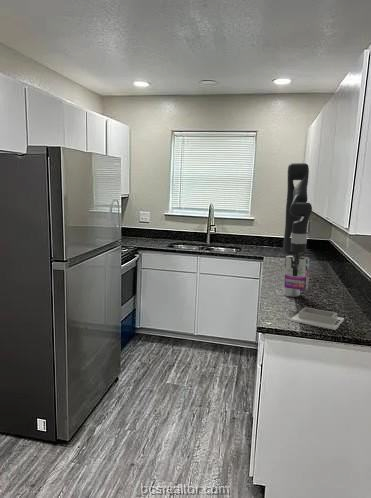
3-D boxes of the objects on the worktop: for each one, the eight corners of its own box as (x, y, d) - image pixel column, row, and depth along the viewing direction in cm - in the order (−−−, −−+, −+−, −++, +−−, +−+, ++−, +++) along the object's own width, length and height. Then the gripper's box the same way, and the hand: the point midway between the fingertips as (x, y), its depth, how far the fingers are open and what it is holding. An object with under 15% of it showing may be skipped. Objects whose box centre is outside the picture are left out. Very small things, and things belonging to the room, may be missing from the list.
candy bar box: (308, 288, 191) (310, 257, 188) (305, 290, 187) (307, 258, 184) (286, 285, 197) (288, 254, 194) (283, 287, 193) (285, 256, 190)
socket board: (301, 312, 186) (302, 304, 186) (344, 320, 175) (344, 311, 175) (290, 320, 173) (291, 312, 173) (336, 330, 162) (336, 321, 162)
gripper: (296, 239, 196) (294, 271, 199) (286, 243, 184) (284, 276, 187) (310, 241, 192) (308, 273, 195) (301, 244, 180) (299, 278, 183)
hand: (296, 274), depth 191 cm, fingers closed on candy bar box, 5 cm apart
